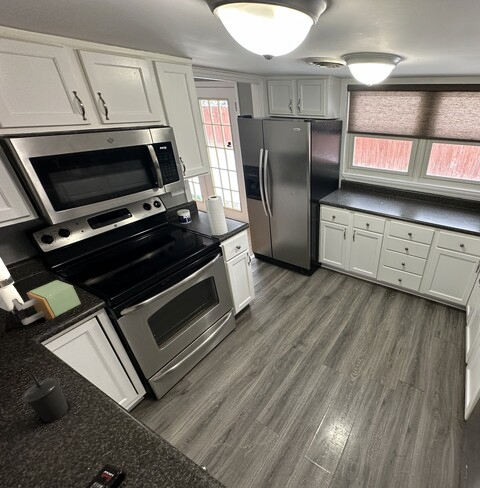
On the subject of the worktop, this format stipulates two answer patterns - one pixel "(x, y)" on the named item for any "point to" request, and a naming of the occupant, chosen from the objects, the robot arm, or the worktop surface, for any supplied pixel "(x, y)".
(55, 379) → the drinking cup
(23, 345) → the worktop surface
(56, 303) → the cupboard
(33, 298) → the door
